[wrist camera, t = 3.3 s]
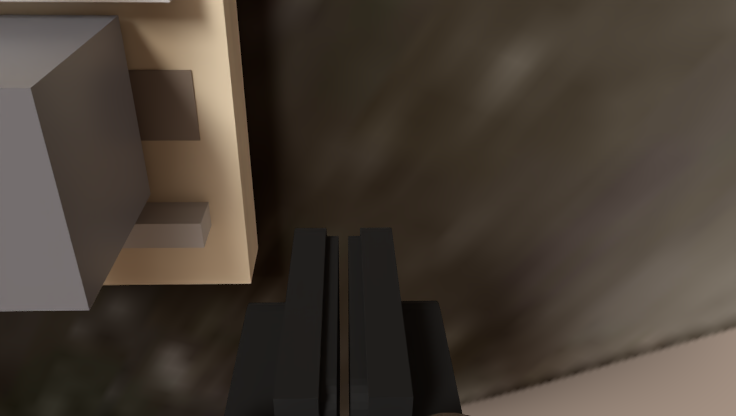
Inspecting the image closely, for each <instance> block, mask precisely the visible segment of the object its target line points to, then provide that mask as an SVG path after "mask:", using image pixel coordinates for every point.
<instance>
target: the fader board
mask: <svg viewBox="0 0 736 416" xmlns="http://www.w3.org/2000/svg"><path fill="white" fill-rule="evenodd" d="M0 15H118V17H119V23H120V28H121V34H122V39H123V45H124V50H125V56H126V61H127V67H128V72H129V78H130V83H131V89H132V94H133V100H134V105H135V111H136V116H137V122H138V127H139V133H140V138H141V143H142V149H143V154H144V160H145V165H146V171H147V176H148V182H149V187H150V193H151V195H150V196H149V198H148V200H147V202H146V204H145V206H144V208H143V210H142V212H141V214H140V215H139V217H138V219H137V221H136V223H135V225H134V227H133V229H132V231H131V232H130V234H129V236H128V238H127V240H126V242H125V244H124V246H123V248H122V250H121V251H120V253H119V255H118V257H117V259H116V261H115V263H114V265H113V267H112V268H111V270H110V272H109V274H108V276H107V278H106V280H105V282H104V284H103V285H160V284H251V281H252V276H253V271H254V266H255V261H256V256H257V251H258V241H257V230H256V218H255V207H254V196H253V185H252V173H251V162H250V151H249V140H248V128H247V117H246V106H245V95H244V83H243V72H242V61H241V50H240V38H239V27H238V16H237V5H236V0H0Z"/></svg>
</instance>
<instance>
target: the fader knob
mask: <svg viewBox="0 0 736 416" xmlns="http://www.w3.org/2000/svg"><path fill="white" fill-rule="evenodd" d="M150 195H151V193H150V187H149V182H148V176H147V171H146V165H145V160H144V154H143V149H142V143H141V138H140V133H139V127H138V122H137V116H136V111H135V105H134V100H133V94H132V89H131V83H130V78H129V72H128V67H127V61H126V56H125V50H124V45H123V39H122V34H121V28H120V23H119V17H118V15H0V311H63V310H90V308H91V306H92V304H93V303H94V301H95V299H96V297H97V295H98V293H99V291H100V289H101V287H102V285H103V284H104V282H105V280H106V278H107V276H108V274H109V272H110V270H111V268H112V267H113V265H114V263H115V261H116V259H117V257H118V255H119V253H120V251H121V250H122V248H123V246H124V244H125V242H126V240H127V238H128V236H129V234H130V232H131V231H132V229H133V227H134V225H135V223H136V221H137V219H138V217H139V215H140V214H141V212H142V210H143V208H144V206H145V204H146V202H147V200H148V198H149V196H150Z"/></svg>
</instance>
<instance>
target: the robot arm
mask: <svg viewBox="0 0 736 416" xmlns="http://www.w3.org/2000/svg"><path fill="white" fill-rule="evenodd" d="M348 275H349V416H468V415H463V414H462V410H461V405H460V400H459V396H458V391H457V386H456V382H455V377H454V372H453V367H452V363H451V358H450V353H449V349H448V344H447V339H446V334H445V330H444V325H443V320H442V316H441V311H440V307H439V303H438V302H437V301H401V298H400V290H399V282H398V274H397V266H396V259H395V251H394V243H393V235H392V229H391V228H360V236H348ZM224 416H340V321H339V238H338V236H327V231H326V228H296V229H295V232H294V240H293V248H292V255H291V263H290V271H289V279H288V287H287V294H286V302H285V303H249V305H248V307H247V310H246V315H245V320H244V324H243V329H242V334H241V339H240V343H239V348H238V353H237V358H236V362H235V367H234V372H233V377H232V381H231V386H230V391H229V396H228V400H227V405H226V410H225V414H224Z"/></svg>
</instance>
